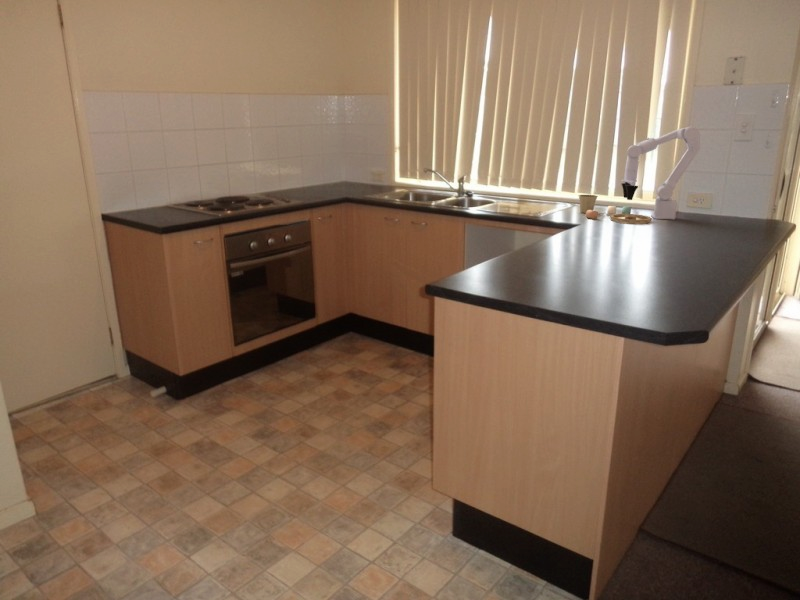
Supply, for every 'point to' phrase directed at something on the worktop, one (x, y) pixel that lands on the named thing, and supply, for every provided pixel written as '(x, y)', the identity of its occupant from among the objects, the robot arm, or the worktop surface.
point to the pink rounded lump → (591, 214)
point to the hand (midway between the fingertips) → (627, 198)
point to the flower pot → (587, 202)
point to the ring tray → (630, 218)
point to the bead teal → (626, 210)
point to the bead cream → (611, 210)
